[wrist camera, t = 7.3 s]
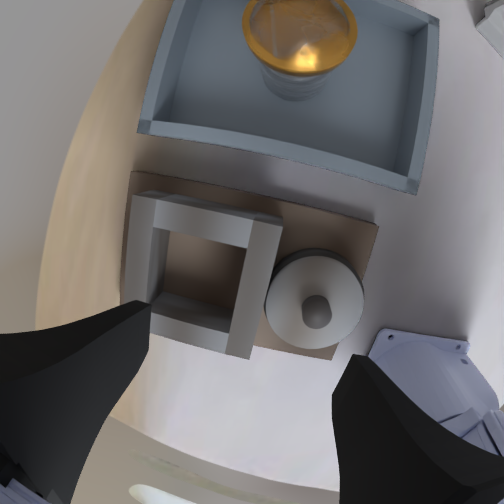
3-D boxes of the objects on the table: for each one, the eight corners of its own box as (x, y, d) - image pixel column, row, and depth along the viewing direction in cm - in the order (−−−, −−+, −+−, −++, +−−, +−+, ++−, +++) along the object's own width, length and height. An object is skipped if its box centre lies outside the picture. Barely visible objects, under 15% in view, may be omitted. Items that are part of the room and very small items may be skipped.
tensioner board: (374, 223, 18) (398, 240, 14) (329, 352, 21) (337, 392, 17) (137, 170, 19) (101, 174, 15) (125, 302, 22) (96, 329, 17)
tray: (421, 34, 14) (439, 19, 11) (397, 190, 18) (416, 195, 15) (199, -13, 15) (187, -34, 12) (157, 136, 18) (136, 132, 15)
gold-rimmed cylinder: (338, 50, 15) (363, -3, 8) (324, 114, 16) (348, 84, 10) (265, 34, 15) (255, -26, 8) (249, 97, 16) (229, 59, 10)
